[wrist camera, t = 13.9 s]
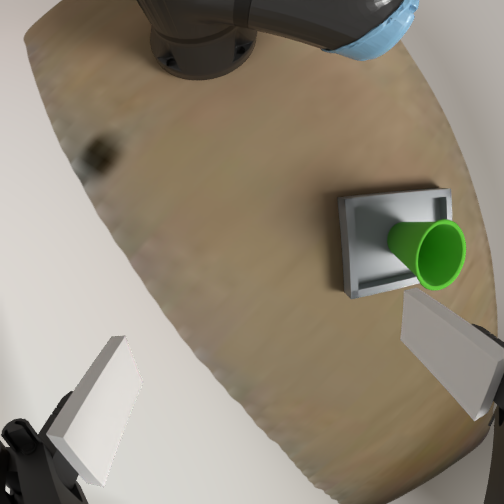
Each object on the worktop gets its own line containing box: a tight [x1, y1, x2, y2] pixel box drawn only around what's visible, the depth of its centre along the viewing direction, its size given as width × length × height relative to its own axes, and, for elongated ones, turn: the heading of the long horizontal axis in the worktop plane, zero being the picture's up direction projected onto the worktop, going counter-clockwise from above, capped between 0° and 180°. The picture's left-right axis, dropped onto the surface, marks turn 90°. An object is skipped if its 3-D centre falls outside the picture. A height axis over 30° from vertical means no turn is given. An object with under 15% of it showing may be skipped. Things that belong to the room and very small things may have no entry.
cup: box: [387, 219, 466, 290], centre depth 35 cm, size 9×9×11 cm
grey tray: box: [337, 188, 452, 299], centre depth 40 cm, size 14×19×3 cm
